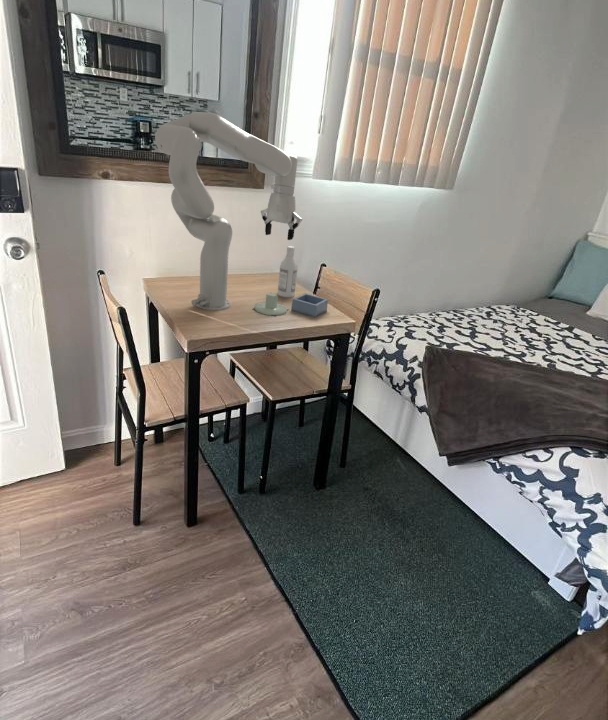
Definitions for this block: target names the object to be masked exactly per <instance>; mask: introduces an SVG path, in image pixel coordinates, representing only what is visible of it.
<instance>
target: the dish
mask: <svg viewBox="0 0 608 720" xmlns="http://www.w3.org/2000/svg"><path fill="white" fill-rule="evenodd" d="M328 303H329V299H328V298H325V297H321V296H318V295H315V294H314V295H312V294H310V293H305V292H304V293H303V294H301V295H298V296H295V297H292V302H291V311H292V312H295V313H299V314H302V315H305V316H309V317H312V318H317V317H318V316H320V315H322V314H324V313H326V312H327V310H328Z"/></svg>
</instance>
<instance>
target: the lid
mask: <svg viewBox="0 0 608 720" xmlns="http://www.w3.org/2000/svg"><path fill="white" fill-rule="evenodd" d="M278 296H279V295H278V293H273V292H268V293H267V294H266V296H265V301H262V302H261V301H260V302H257V303H255V304H254V307H253V309H255V310H256V311H255V310H254V311H255V312H257V313H258V314H263V315H266V316H271V315H278V316H282V315H283V316H284V315H286V313H287V309H288V307H287V306H285V305H283V304H282V303H278Z"/></svg>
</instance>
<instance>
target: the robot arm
mask: <svg viewBox="0 0 608 720" xmlns="http://www.w3.org/2000/svg"><path fill="white" fill-rule="evenodd" d="M154 136H155V137H154V142H155V145H156V147H157V148H158V150H159V151H160V152H161V153H163V154H164V155H168V156H170V157H169V163H168V176H169V177H168V178H169V179H170V182H171V184H172V186H173V190H172V192H171V197H170V199H171V205H172V208H173V210H174V211H175V213H176V215H177V216H178V218H179V220H180V221H181V222H182V223H183V225H184V227H185V229H186V230H187V232H188V233H189V234H190V235H191V236H193V237H194V238H196V239H197V240H200V241H203V242H204V244H203V247H202V249H201V252H200V258H199V259H200V263H199V265H200V266H199V269H200V270H199V293H198V294H197V295H198V296H197V298H195V299H193V300H191V302H190V303H191V305H192V306H196V307H197V308H200V309H202V310H206V311H224V310H227V309H229V308H230V307H231V302H230V301H229V300H228V299H227V296H228V295H227V292H228V270H229V253H230V246H231V242H232V238H233V227H232V226H231V223H230V222H229V221H228V220H227V219H225V218H223V217H221V216H219V215H217V214H213V213H214V212H215V211H214V210H215V203H214V200H213V198H212V196H211V194H210V192H209V190H208V189H207V188H206V186H205V184H204V182H203V180H202V179H201V176H200V175H199V172H198V170H197V162H198V157H199V153H200V149H201V143H207V144H209V145H211V146H213V147H215V148H216V149H219V150H220V151H222V152H225V153H226V154H228V155H230V156H231V157H234V158H235V159H238V160H240V161H243V162H246V163H250V164H254V165H255V168H256V170H257V171H258V172H260V173H263V174H265V175H270V176H271V175H272V176H274V182H273V184H271V185H270V189H272V190H273V192H271V193H270V195H269V199H268V204H267V208H264V209H262V210H260V214H261V218H262V220H263V221H264V224H265V226H264V233H265V236H268V235H269V236H270V235H272V227H273V225H272V222H276V223H281V224H286V225H287V226H288V227H289V229H288V230H287V231H288V232H287V239H286V240H287V241H291V240H293V239H294V236H295V230H296V229H297V228H298V227H299V226H300V224H301V223H302V221H303V218H302V217H300V216H299V214H297V213H296V195H295V194H294V193H295V186H296V176H297V167H298V157H297V156H296V155H294V154H291V153H290V154H289V153H286V152H285V151H284V150H282V149H280V148H278V147H277V146H275V145H273V144H271V143H269V142H266V141H265V140H263V139H261V138H258V137H257V136H255V135H253V134H250V133H248V132H246V131H245V130H243V129H242V128H240V127H238V126H236V125H235V124H233V123H232V122H230V121H229V120H227V119H226V118H224V117H222V116H221V115H219V114H217V113H213V112H208V111H207V112H206V111H195V112H194V111H193V112H192V113H191V112H190V113H188V114H186V115H184V116H181V117H178V118H176V119H174V120H171V121H168V122H166V123H163V124H161V125H160V126H159V127H158V128H157V130H156V133H155V135H154ZM295 220H296V222H295Z"/></svg>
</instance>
